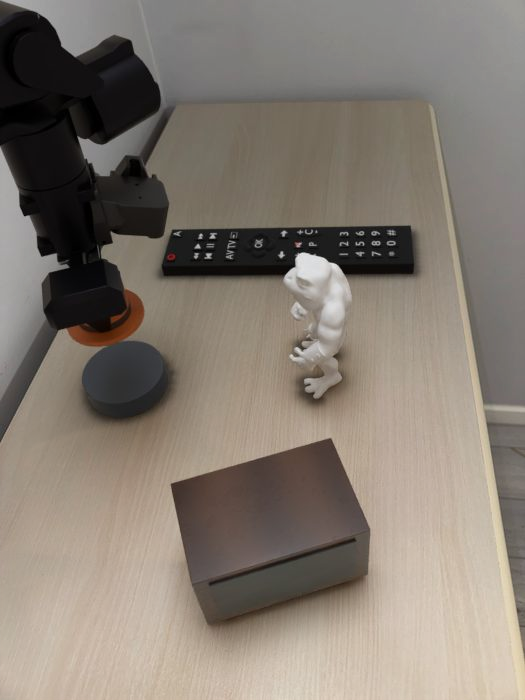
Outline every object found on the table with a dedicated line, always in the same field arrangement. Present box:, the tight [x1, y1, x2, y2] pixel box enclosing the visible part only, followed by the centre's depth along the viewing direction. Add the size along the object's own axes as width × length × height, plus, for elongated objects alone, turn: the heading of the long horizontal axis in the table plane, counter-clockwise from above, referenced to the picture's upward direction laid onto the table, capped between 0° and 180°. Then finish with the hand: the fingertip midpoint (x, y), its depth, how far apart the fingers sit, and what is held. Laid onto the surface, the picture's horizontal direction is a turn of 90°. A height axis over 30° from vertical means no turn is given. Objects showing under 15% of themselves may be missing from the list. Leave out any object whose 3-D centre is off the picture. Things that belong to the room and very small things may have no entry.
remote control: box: [161, 224, 415, 276], centre depth 87 cm, size 8×32×2 cm, turn 85°
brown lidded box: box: [170, 437, 371, 626], centre depth 57 cm, size 14×9×9 cm, turn 105°
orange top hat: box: [66, 278, 146, 348], centre depth 64 cm, size 8×8×5 cm
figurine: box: [282, 253, 353, 400], centre depth 69 cm, size 11×7×15 cm, turn 0°
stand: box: [81, 340, 169, 419], centre depth 74 cm, size 9×9×2 cm
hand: (102, 311), depth 65 cm, fingers closed on orange top hat, 5 cm apart
